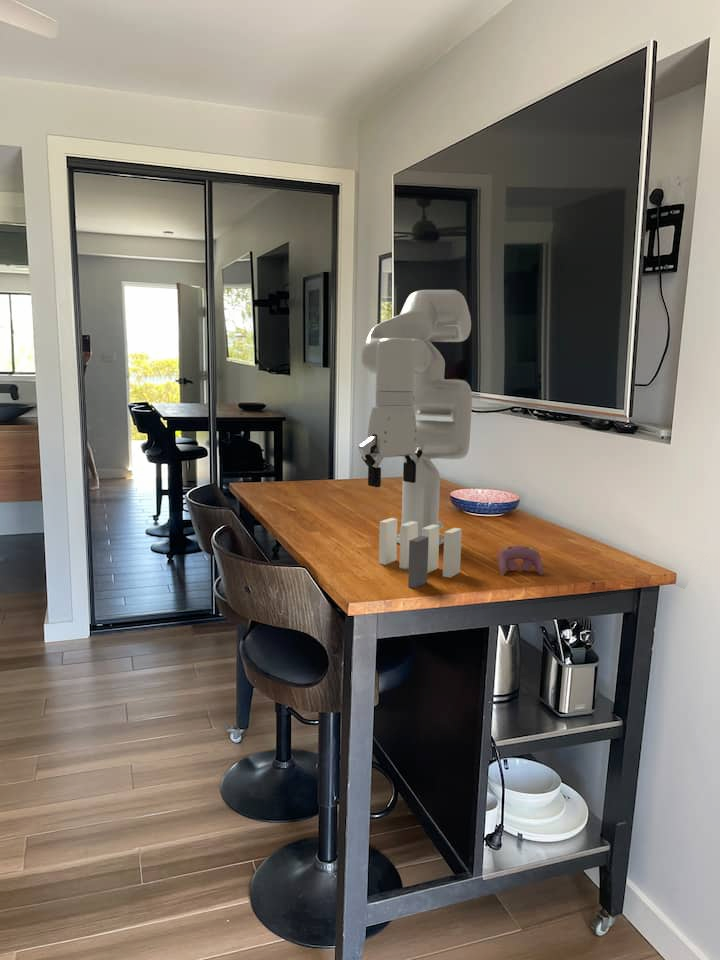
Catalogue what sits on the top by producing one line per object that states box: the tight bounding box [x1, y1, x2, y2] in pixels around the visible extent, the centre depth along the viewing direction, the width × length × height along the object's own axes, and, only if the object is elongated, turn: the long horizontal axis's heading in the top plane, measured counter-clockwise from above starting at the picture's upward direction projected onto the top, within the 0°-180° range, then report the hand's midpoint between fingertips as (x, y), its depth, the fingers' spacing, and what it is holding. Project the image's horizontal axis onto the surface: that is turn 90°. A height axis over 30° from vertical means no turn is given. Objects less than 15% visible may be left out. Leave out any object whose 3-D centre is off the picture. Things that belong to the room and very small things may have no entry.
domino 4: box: [422, 524, 440, 574], centre depth 162 cm, size 2×5×10 cm, turn 147°
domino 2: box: [399, 521, 418, 570], centre depth 164 cm, size 2×5×10 cm, turn 147°
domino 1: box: [378, 517, 398, 566], centre depth 167 cm, size 2×5×10 cm, turn 147°
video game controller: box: [497, 545, 544, 576], centre depth 162 cm, size 10×5×7 cm, turn 92°
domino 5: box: [442, 527, 463, 578], centre depth 159 cm, size 2×5×10 cm, turn 147°
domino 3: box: [407, 536, 429, 589], centre depth 151 cm, size 2×5×10 cm, turn 147°
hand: (392, 484), depth 147 cm, fingers open, 9 cm apart
